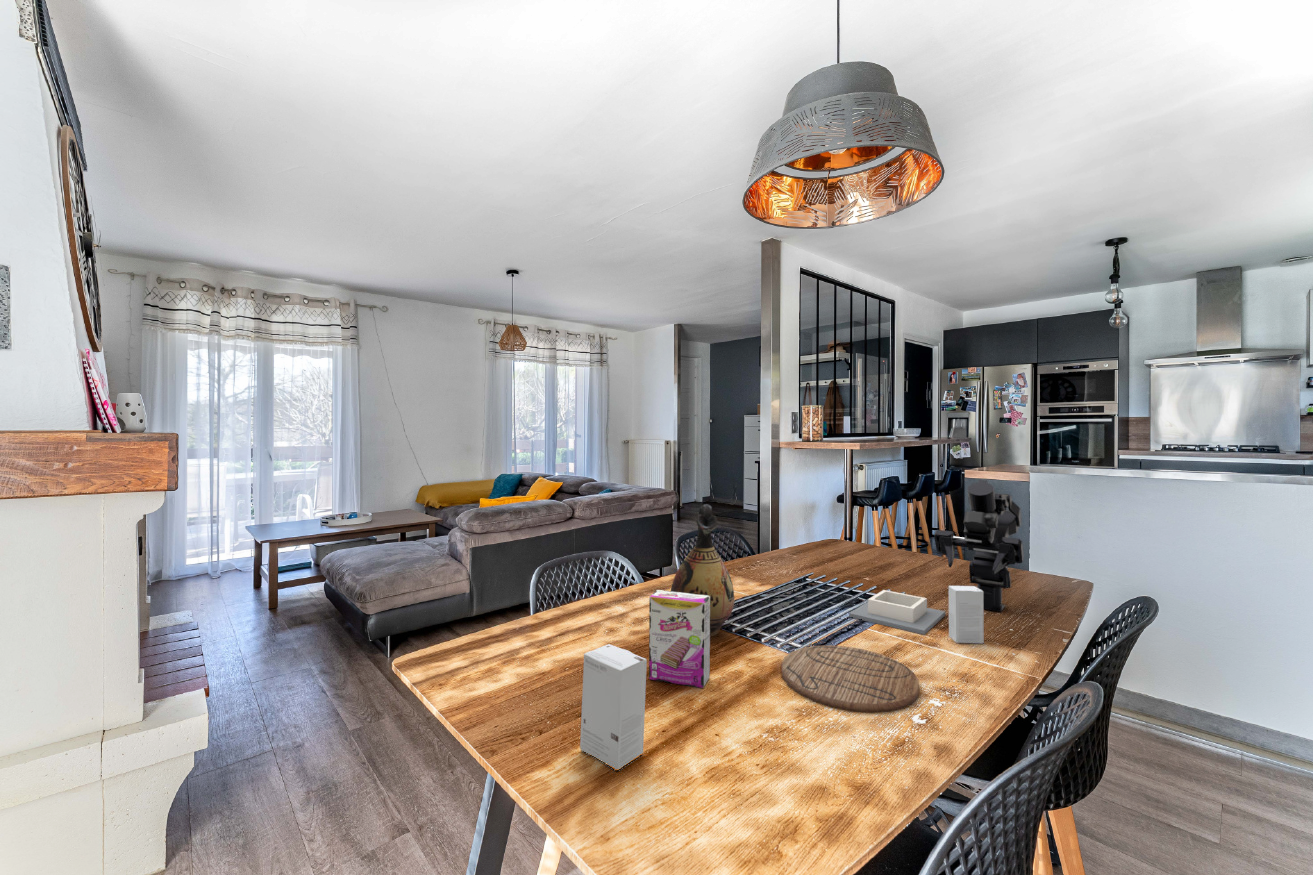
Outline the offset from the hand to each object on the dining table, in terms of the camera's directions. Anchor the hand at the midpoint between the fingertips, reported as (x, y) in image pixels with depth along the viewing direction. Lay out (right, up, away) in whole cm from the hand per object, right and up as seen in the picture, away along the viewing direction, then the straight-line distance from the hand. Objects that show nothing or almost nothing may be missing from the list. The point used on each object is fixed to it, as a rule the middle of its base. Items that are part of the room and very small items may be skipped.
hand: (970, 569), depth 130 cm
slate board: (-13, -15, +11) cm, 22 cm away
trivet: (-38, -16, -24) cm, 48 cm away
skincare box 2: (-4, -15, -5) cm, 17 cm away
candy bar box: (-70, -16, -24) cm, 76 cm away
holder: (-13, -15, +11) cm, 22 cm away
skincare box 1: (-81, -16, -48) cm, 96 cm away
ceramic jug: (-64, -15, +2) cm, 66 cm away
